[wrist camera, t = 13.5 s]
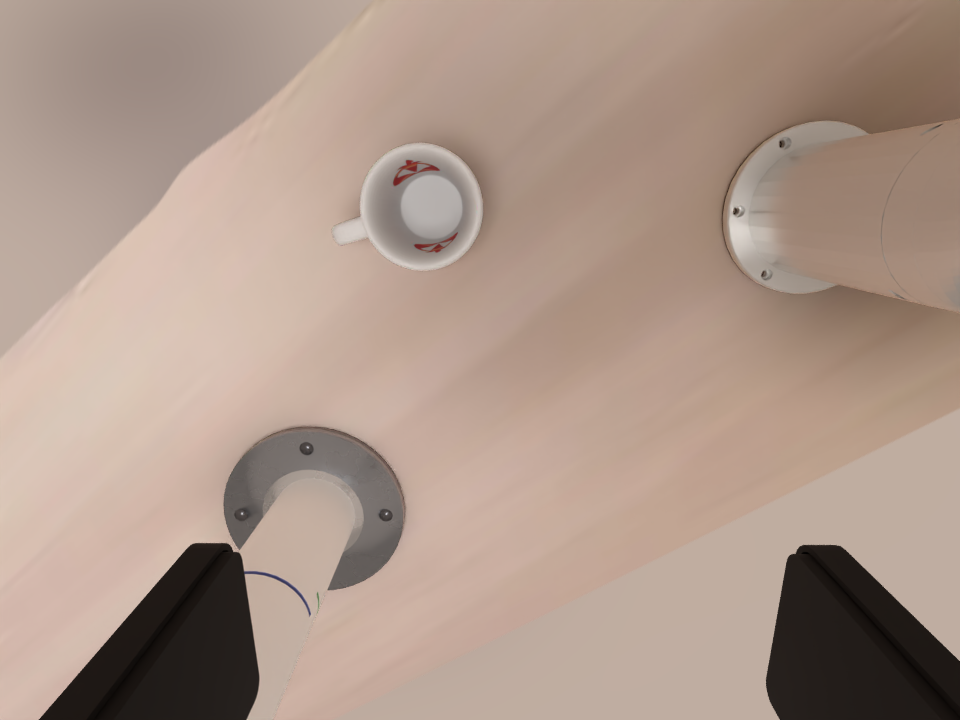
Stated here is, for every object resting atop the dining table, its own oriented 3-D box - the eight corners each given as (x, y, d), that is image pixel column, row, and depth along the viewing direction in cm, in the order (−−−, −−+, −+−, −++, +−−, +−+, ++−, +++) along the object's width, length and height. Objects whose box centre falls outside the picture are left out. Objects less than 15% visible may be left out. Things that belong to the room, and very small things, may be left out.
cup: (368, 281, 44) (343, 298, 37) (333, 182, 42) (298, 178, 34) (496, 242, 43) (498, 251, 36) (466, 138, 41) (462, 124, 33)
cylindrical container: (336, 468, 47) (181, 741, 23) (367, 536, 49) (251, 854, 25) (262, 491, 48) (37, 778, 24) (294, 557, 50) (115, 885, 26)
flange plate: (400, 426, 48) (398, 432, 46) (408, 582, 52) (406, 591, 51) (218, 426, 48) (211, 432, 47) (241, 581, 52) (235, 590, 51)
